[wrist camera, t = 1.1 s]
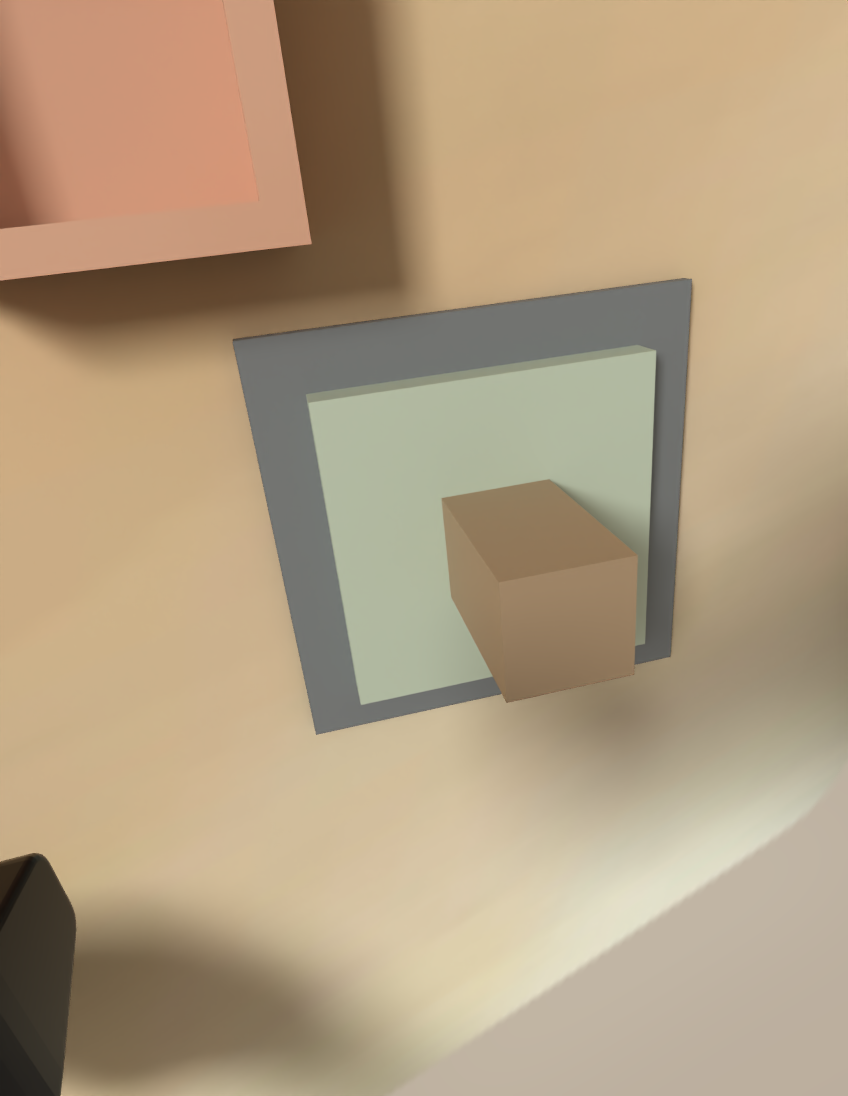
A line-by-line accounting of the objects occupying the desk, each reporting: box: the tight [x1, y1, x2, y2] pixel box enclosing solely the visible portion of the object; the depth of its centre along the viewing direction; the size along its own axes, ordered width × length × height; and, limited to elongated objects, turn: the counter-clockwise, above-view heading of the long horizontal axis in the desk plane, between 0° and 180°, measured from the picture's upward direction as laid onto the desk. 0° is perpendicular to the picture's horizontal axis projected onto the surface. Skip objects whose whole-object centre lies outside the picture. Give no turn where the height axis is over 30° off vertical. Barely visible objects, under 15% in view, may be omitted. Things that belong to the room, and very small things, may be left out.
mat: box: [233, 278, 692, 735], centre depth 21 cm, size 12×12×1 cm
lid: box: [306, 345, 656, 705], centre depth 18 cm, size 9×9×6 cm
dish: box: [0, 0, 312, 281], centre depth 13 cm, size 8×8×4 cm
